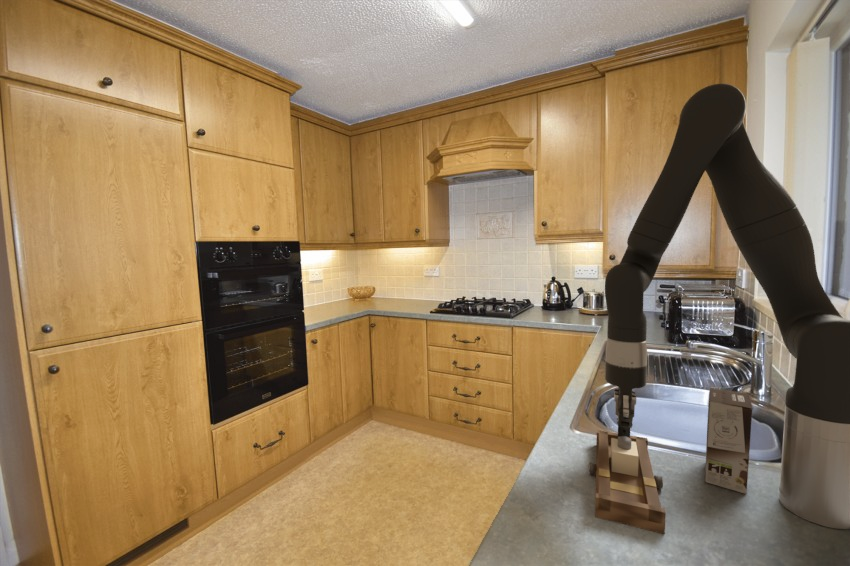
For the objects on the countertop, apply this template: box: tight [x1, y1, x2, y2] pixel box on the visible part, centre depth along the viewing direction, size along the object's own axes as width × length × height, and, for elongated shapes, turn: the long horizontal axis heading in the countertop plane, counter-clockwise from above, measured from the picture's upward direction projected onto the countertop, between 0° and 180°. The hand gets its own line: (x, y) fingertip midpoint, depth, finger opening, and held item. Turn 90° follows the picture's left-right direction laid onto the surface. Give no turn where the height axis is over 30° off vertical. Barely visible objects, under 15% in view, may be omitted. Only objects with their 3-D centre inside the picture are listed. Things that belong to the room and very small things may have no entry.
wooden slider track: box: [588, 429, 667, 535], centre depth 75 cm, size 12×26×4 cm, turn 156°
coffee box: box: [704, 387, 754, 494], centre depth 75 cm, size 9×6×16 cm
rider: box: [611, 436, 639, 477], centre depth 77 cm, size 4×6×6 cm
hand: (623, 441), depth 81 cm, fingers closed
